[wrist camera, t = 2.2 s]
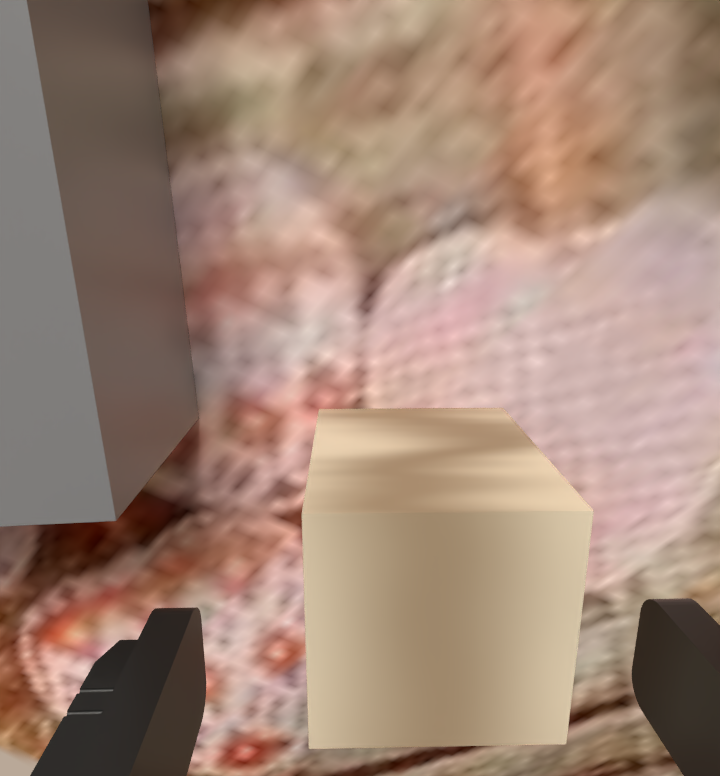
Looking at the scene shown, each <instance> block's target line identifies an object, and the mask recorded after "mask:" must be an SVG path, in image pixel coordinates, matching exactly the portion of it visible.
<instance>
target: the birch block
mask: <svg viewBox="0 0 720 776" xmlns="http://www.w3.org/2000/svg"><path fill="white" fill-rule="evenodd" d="M593 512H594V511H593V510H592V508H591V507H590V506H589V505H588V504H587V503H586V502H585V501H584V499H583V498H582V497H581V496H580V495H579V494H578V493H577V491H576V490H575V489H574V488H573V487H572V486H571V485H570V484H569V482H568V481H567V480H566V479H565V478H564V477H563V476H562V474H561V473H560V472H559V471H558V470H557V469H556V468H555V467H554V465H553V464H552V463H551V462H550V461H549V460H548V459H547V457H546V456H545V455H544V454H543V453H542V452H541V451H540V450H539V448H538V447H537V446H536V445H535V444H534V443H533V442H532V440H531V439H530V438H529V437H528V436H527V435H526V434H525V433H524V431H523V430H522V429H521V428H520V427H519V426H518V425H517V423H516V422H515V421H514V420H513V419H512V418H511V417H510V416H509V414H508V413H507V412H506V411H505V410H504V409H503V408H414V409H319V412H318V418H317V424H316V430H315V436H314V442H313V448H312V454H311V460H310V467H309V473H308V479H307V485H306V491H305V497H304V503H303V509H302V540H303V573H304V606H305V639H306V671H307V704H308V737H309V749H334V748H388V747H443V746H498V745H552V744H566V742H567V733H568V725H569V716H570V708H571V699H572V691H573V682H574V674H575V665H576V657H577V648H578V640H579V631H580V623H581V614H582V606H583V597H584V589H585V580H586V572H587V563H588V555H589V546H590V538H591V529H592V521H593Z"/></svg>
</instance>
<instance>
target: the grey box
mask: <svg viewBox="0 0 720 776" xmlns="http://www.w3.org/2000/svg"><path fill="white" fill-rule="evenodd" d="M198 419H199V413H198V405H197V397H196V389H195V381H194V373H193V365H192V357H191V348H190V340H189V332H188V324H187V316H186V308H185V300H184V292H183V283H182V275H181V267H180V259H179V251H178V243H177V235H176V227H175V218H174V210H173V202H172V194H171V186H170V178H169V170H168V162H167V153H166V145H165V137H164V129H163V121H162V113H161V105H160V97H159V88H158V80H157V72H156V64H155V56H154V48H153V40H152V31H151V23H150V15H149V7H148V0H0V527H1V526H21V525H42V524H63V523H83V522H104V521H116V520H117V519H118V518H119V517H120V515H121V514H122V513H123V512H124V511H125V509H126V508H127V507H128V506H129V504H130V503H131V502H132V501H133V499H134V498H135V497H136V496H137V494H138V493H139V492H140V491H141V489H142V488H143V487H144V486H145V484H146V483H147V482H148V481H149V479H150V478H151V477H152V476H153V475H154V473H155V472H156V471H157V470H158V468H159V467H160V466H161V465H162V463H163V462H164V461H165V460H166V458H167V457H168V456H169V455H170V453H171V452H172V451H173V450H174V448H175V447H176V446H177V445H178V444H179V442H180V441H181V440H182V439H183V437H184V436H185V435H186V434H187V432H188V431H189V430H190V429H191V427H192V426H193V425H194V424H195V422H196V421H197V420H198Z"/></svg>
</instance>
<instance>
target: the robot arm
mask: <svg viewBox="0 0 720 776" xmlns="http://www.w3.org/2000/svg"><path fill="white" fill-rule="evenodd" d="M632 683H633V688H634V692H635V696H636V699H637V701H638V704H639V706H640V708H641V710H642V711H643V713H644V715H645V716H646V718H647V719H648V721H649V722H650V724H651V725H652V727H653V729H654V730H655V732H656V733H657V735H658V736H659V738H660V739H661V741H662V743H663V744H664V746H665V747H666V749H667V750H668V752H669V753H670V755H671V757H672V758H673V760H674V761H675V763H676V764H677V766H678V767H679V769H680V771H681V772H682V774H683V775H684V776H720V625H719V624H718V623H717V622H716V621H715V620H714V619H713V618H712V617H711V616H710V615H709V614H708V613H707V612H706V611H705V610H704V609H703V608H702V607H701V606H700V605H699V604H698V603H697V602H696V601H694V600H692V599H648V600H646V601H645V602H644V603H643V605H642V608H641V612H640V619H639V626H638V632H637V639H636V646H635V653H634V659H633V666H632ZM205 698H206V673H205V661H204V648H203V636H202V623H201V614H200V611H199V609H198V608H157V609H154V610H153V611H152V613H151V614H150V616H149V618H148V621H147V623H146V625H145V627H144V629H143V631H142V633H141V635H140V637H139V639H138V640H120V641H118V642H117V643H116V644H115V645H114V646H113V647H112V648H111V649H110V650H108V651H107V652H106V653H105V654H104V655H103V656H102V657H101V658H99V659H98V660H97V661H96V662H95V663H94V665H93V667H92V669H91V670H90V672H89V674H88V676H87V677H86V679H85V681H84V683H83V684H82V686H81V688H80V693H79V694H77V695H76V697H75V698H74V700H73V702H72V704H71V705H70V707H69V709H68V711H67V716H65V717H64V718H63V719H62V721H61V723H60V725H59V726H58V728H57V730H56V732H55V733H54V735H53V737H52V739H51V740H50V742H49V744H48V746H47V747H46V749H45V751H44V753H43V754H42V756H41V758H40V760H39V761H38V763H37V765H36V767H35V768H34V770H33V772H32V774H31V775H30V776H186V775H187V772H188V768H189V765H190V761H191V757H192V754H193V750H194V747H195V743H196V740H197V736H198V733H199V729H200V726H201V722H202V718H203V713H204V707H205Z"/></svg>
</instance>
